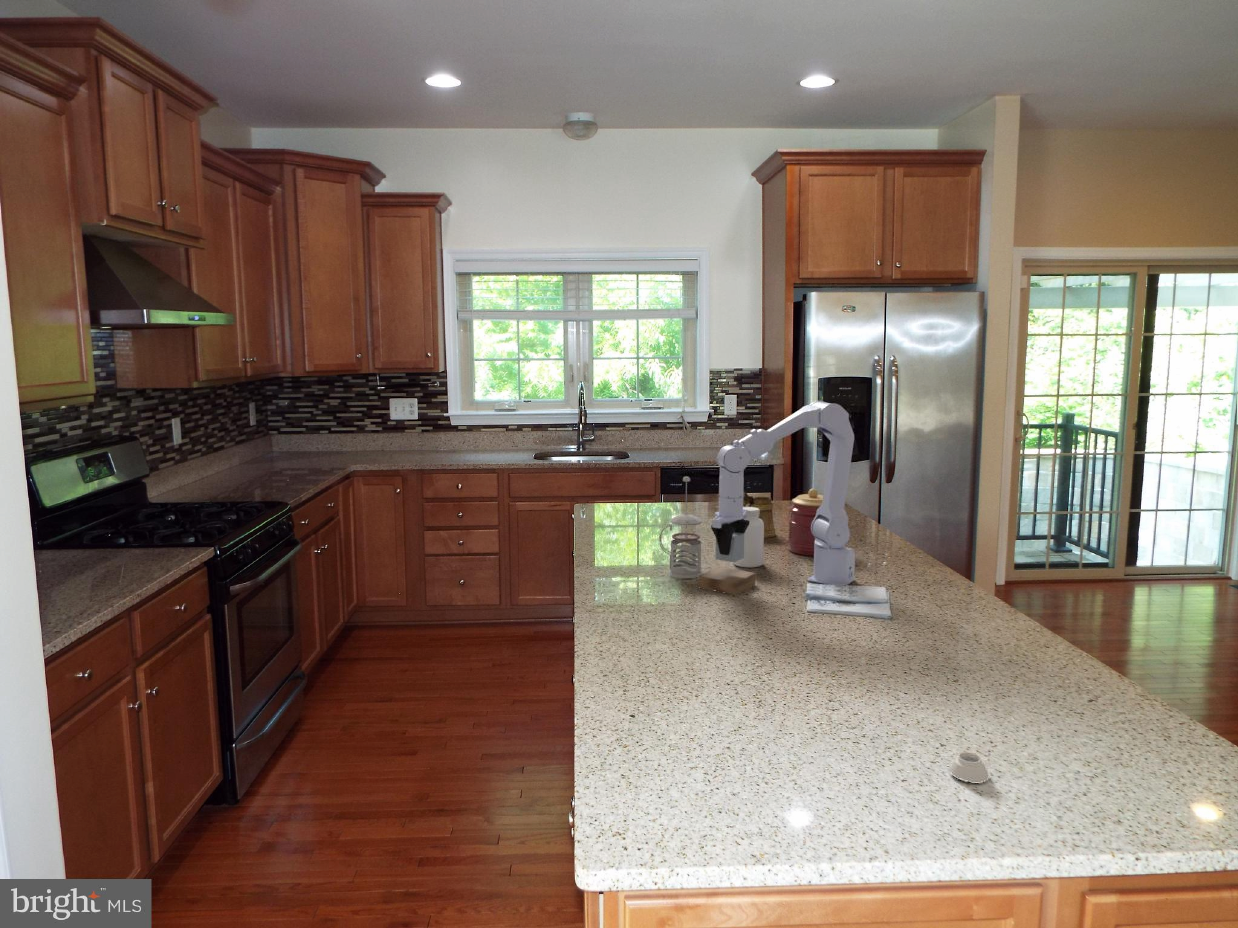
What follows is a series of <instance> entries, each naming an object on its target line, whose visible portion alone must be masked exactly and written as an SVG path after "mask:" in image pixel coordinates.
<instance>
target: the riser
mask: <svg viewBox="0 0 1238 928" xmlns="http://www.w3.org/2000/svg"><path fill="white" fill-rule="evenodd" d="M751 586H752V587H754V586H756V573H755V572H750V571H747V570H746V571H745V570H741V569H740V570H739V569H734V568H728V567H723V566H722V567H721V566H717V567H715V568H713V569H710V570H709V571H707V572H704V574H702V575H700V576H699V578H698V587H700V588H704V589H703V590H706V589H710V590H709V591H711V590H716V591H719V592H718V593H721V592H725V593H724V594H726V593H729V594H728V595H731V594H734V595H733V596H737V595H739V594H741V593H742V591H743V592H744V590H745V591H747V590H748V588H749V587H750V588H752V587H751ZM700 588H699V589H700ZM750 588H749V589H750ZM746 589H747V590H746ZM716 591H715V592H716ZM740 592H741V593H740ZM738 593H739V594H738ZM736 594H737V595H736Z"/></svg>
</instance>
